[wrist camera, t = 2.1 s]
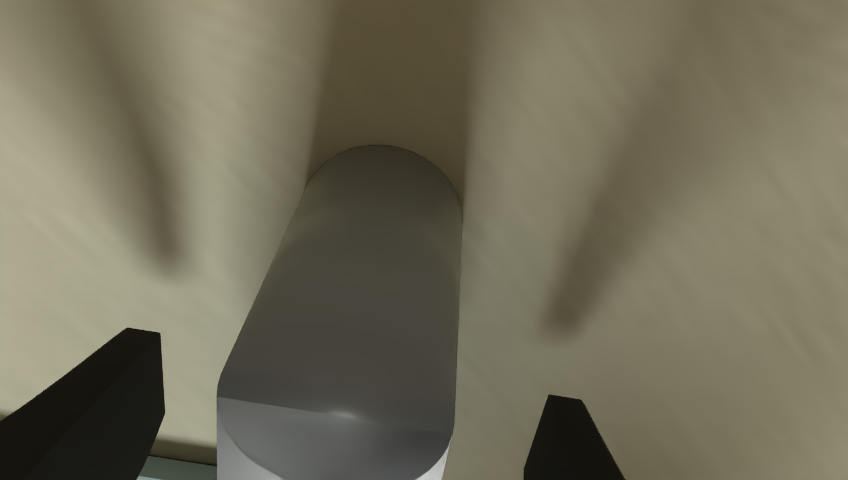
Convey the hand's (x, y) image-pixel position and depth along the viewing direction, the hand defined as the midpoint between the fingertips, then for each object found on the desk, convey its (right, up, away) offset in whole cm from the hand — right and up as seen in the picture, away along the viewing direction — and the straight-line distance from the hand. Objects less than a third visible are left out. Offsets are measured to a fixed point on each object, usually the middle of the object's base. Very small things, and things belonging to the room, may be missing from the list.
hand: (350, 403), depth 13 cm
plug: (0, +1, +2) cm, 2 cm away
